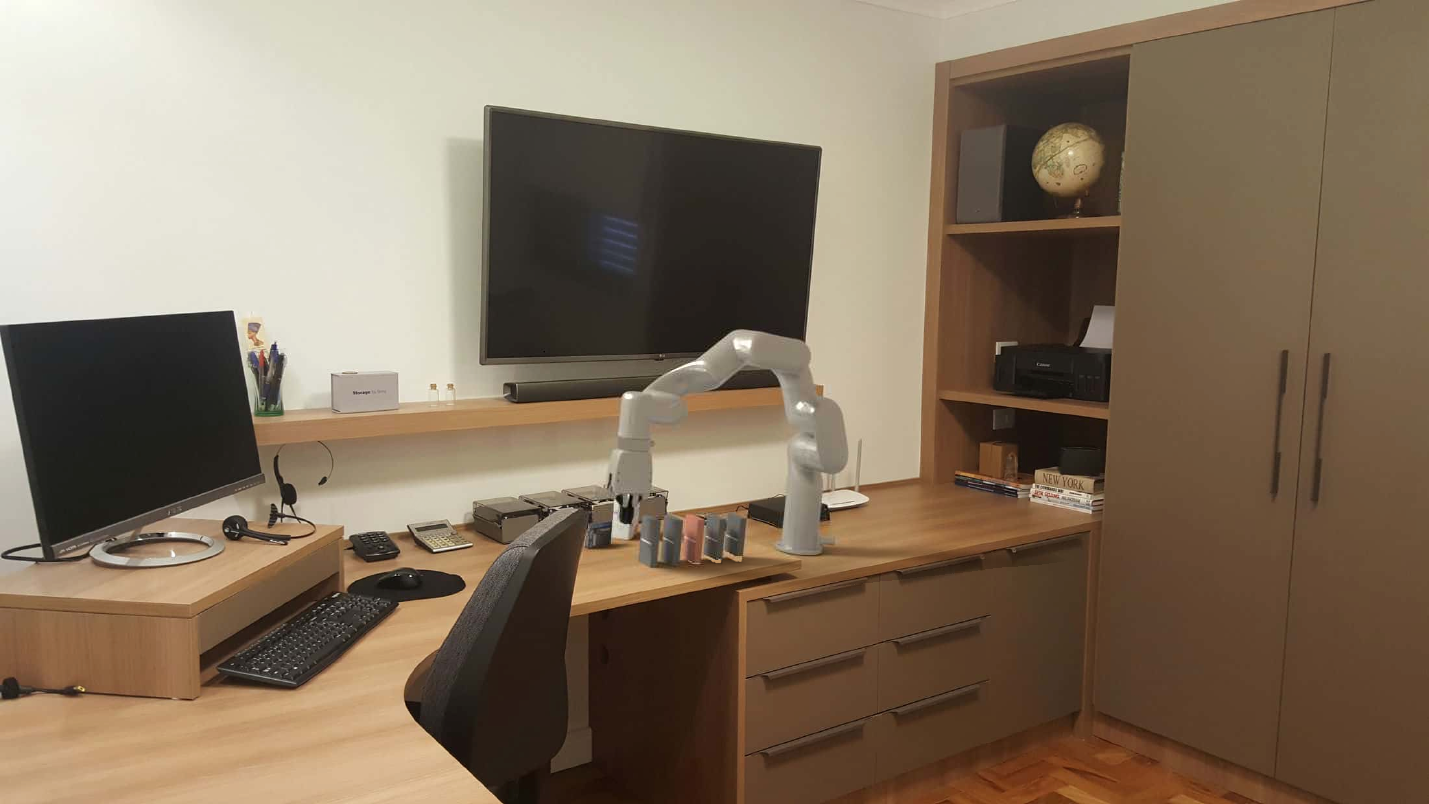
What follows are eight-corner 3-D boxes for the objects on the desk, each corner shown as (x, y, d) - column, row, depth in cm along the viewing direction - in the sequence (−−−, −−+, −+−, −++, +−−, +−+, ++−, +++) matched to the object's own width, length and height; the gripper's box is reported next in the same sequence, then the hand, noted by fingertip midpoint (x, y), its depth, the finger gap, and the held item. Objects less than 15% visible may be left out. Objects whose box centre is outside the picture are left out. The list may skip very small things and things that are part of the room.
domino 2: (667, 559, 245) (671, 514, 244) (679, 565, 240) (683, 520, 239) (660, 559, 244) (664, 515, 243) (672, 566, 239) (676, 520, 238)
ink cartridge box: (619, 531, 270) (624, 477, 268) (637, 534, 269) (642, 479, 267) (610, 538, 261) (615, 482, 260) (628, 540, 260) (633, 484, 259)
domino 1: (645, 560, 242) (649, 515, 241) (656, 567, 237) (661, 521, 236) (638, 560, 241) (642, 515, 240) (649, 567, 236) (654, 521, 235)
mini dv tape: (587, 549, 248) (589, 525, 248) (583, 547, 249) (585, 524, 248) (610, 544, 255) (612, 521, 254) (606, 543, 256) (608, 520, 255)
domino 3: (688, 558, 249) (692, 514, 248) (700, 564, 243) (704, 519, 242) (681, 558, 248) (685, 514, 247) (693, 564, 242) (698, 520, 241)
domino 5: (729, 555, 255) (733, 513, 254) (742, 562, 250) (746, 518, 249) (723, 556, 254) (727, 513, 253) (736, 562, 249) (740, 518, 248)
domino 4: (709, 556, 252) (713, 513, 251) (721, 563, 247) (726, 519, 246) (702, 557, 251) (707, 513, 250) (715, 563, 246) (719, 519, 245)
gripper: (654, 443, 240) (646, 519, 242) (597, 441, 232) (589, 520, 234) (669, 448, 234) (661, 526, 235) (611, 447, 226) (603, 527, 228)
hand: (625, 522), depth 235 cm, fingers closed
